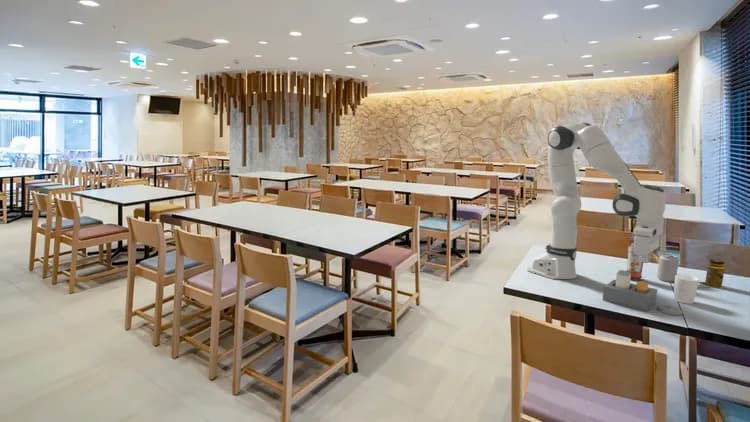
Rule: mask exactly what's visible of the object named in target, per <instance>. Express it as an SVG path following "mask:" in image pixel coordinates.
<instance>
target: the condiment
mask: <svg viewBox="0 0 750 422" xmlns="http://www.w3.org/2000/svg"><path fill="white" fill-rule="evenodd" d="M724 273H725V261H724V260H721V259H717V258H710V259H709V262H708V265H707V268H706V276H705V281H698V285H701V286H702V287H703V288H712V289H722V290H726V288H725V287H723V282H724V275H725V274H724Z"/></svg>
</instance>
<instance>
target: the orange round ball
mask: <svg viewBox="0 0 750 422" xmlns="http://www.w3.org/2000/svg"><path fill="white" fill-rule="evenodd" d="M636 285H637V287H636V291H639V292H644V293H647V290H648V287H649V283H648V282H646V281H641V280H638V281H637V282H636Z"/></svg>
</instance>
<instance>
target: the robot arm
mask: <svg viewBox="0 0 750 422" xmlns="http://www.w3.org/2000/svg"><path fill="white" fill-rule="evenodd" d="M547 143H548V145H549V146H548V150H547V166H548V172H549V183H550V185H551V187H552V191H553V194H554V200H553V201H552V202H551V206H550V217H551V219H550V220H551V236H550V243H549V244H547V245H546V246H545V247H544V248H545V250H546V251H545V252H543V253H541V254H539V255H537V256H536V257H534V259H533V261H532V264H531V265H529V266H528V267H527V269H526V270H527V272H529V273H533V274H535V273H536V275H540V276H542V277H545V278H549V279H551V280H573V279H577V270H576V258H577V238H578V237H577V236H578V228H577V225H578V223H577V216H578V213H579V212H580V210H581V209H582V200H581V195H580V190H579V187H578V182H577V178H576V177H577V176H576V169H575V161H574V151H575V150H576V149H577V150H581V152H582V154H583V156H584V157H585V160H586V161H587V163H588V164H589V165H590V167H592V168H593V169H594V170H596V171H598V172H603V173H605V174H608V175H609V176H612V177H613V178H615V179H616V180H617V182H618V184H619V185H620V186H621V188H622V189H623V191H624V192H623V193H619V194H617V195H616V196H614V198H613V200H612V204H611V205H612V206H611V207H612V210H613V211H614V212H615V214H617V215H618V216H621V217H624V218H625V217H626V218H627V217H635V218H636V223H635V227H634V228H633V230H632V233H633V235H634V236H635V237H634V236H633V237H634V253H635V255H640V256H642V258H643V259H642V262H643V264H648V263H649V262H650V261H651V260H650V259H651V256H652V254H653V253H652V252H653V251H655V250H656V249H658V248H659V247H660V243H661V241H660V240H661V235H662V234H663V233H664V222H665V221H664V213H665V210H666V193H665V190H664V189H663V188H661V187H659V186H655V185H649V184H647V185H642V184H641V183H640V181H639V180H638V179H637V177H636V176H635V174H634V173H633V171H632V170H631V169H630V167H629V166H628V165H627V163H626V162H625V161H624V159H623V158H621V156H620V155H619V154H618V152H617V151H616V149H615V147H614V146H613V144H612V143H611V141H610V139H609V137H608V136H607V135H606V133H605V132H604V131H603V130H602V129H601V128H600V127H599V126H598V125H595V124H591V123H588V122H574V123H573V122H572V123H569V124H563V125H557V126H556V127H553V128H552V129H550V130H549V132H548V134H547Z"/></svg>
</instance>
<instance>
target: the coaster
mask: <svg viewBox="0 0 750 422" xmlns="http://www.w3.org/2000/svg"><path fill="white" fill-rule="evenodd" d="M657 310H658V312H660V313H662V314H665V315H670V316H676V315H679V316H682V315H683V310H682V309H679V308H677V307H674V306H669V305H658V306H657Z"/></svg>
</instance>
